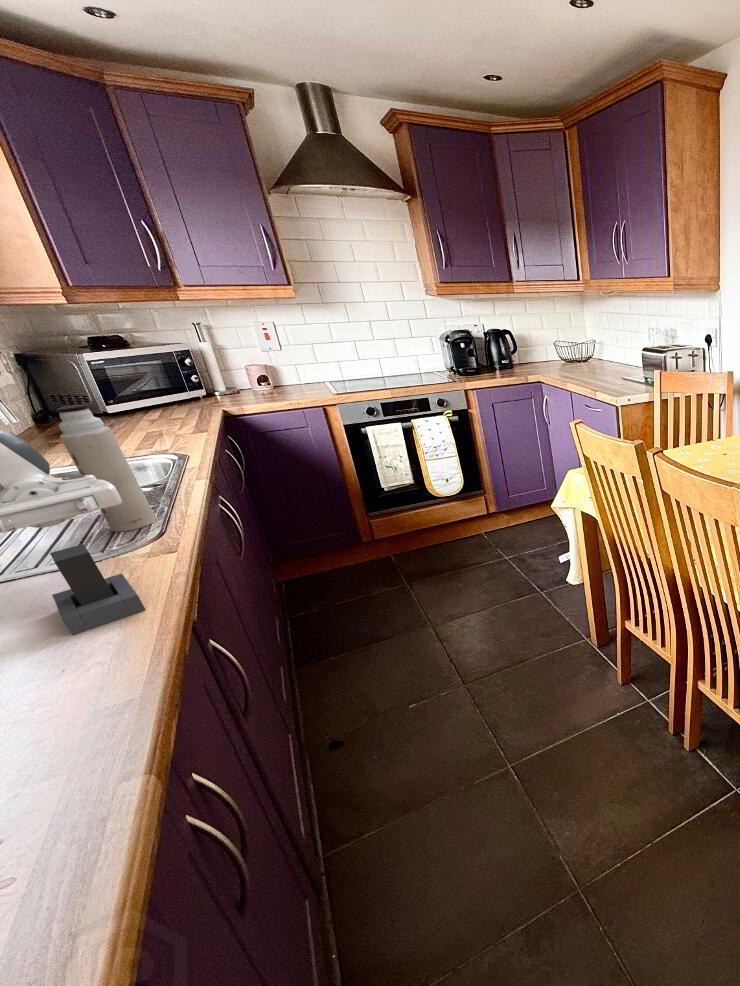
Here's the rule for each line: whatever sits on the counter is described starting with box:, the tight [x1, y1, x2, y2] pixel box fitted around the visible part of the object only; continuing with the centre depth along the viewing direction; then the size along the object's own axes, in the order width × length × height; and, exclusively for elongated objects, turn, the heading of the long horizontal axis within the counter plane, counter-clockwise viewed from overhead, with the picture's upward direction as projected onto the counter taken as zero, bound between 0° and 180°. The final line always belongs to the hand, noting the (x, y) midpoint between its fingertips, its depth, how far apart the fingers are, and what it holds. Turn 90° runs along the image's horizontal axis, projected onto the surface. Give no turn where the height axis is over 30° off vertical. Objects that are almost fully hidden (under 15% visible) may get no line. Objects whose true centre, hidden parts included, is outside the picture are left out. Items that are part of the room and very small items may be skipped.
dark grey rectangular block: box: [49, 543, 114, 606], centre depth 97 cm, size 6×4×10 cm, turn 52°
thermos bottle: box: [56, 403, 157, 533], centre depth 131 cm, size 8×8×28 cm
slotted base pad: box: [51, 573, 146, 636], centre depth 99 cm, size 14×9×3 cm, turn 52°
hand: (47, 517), depth 101 cm, fingers open, 8 cm apart
